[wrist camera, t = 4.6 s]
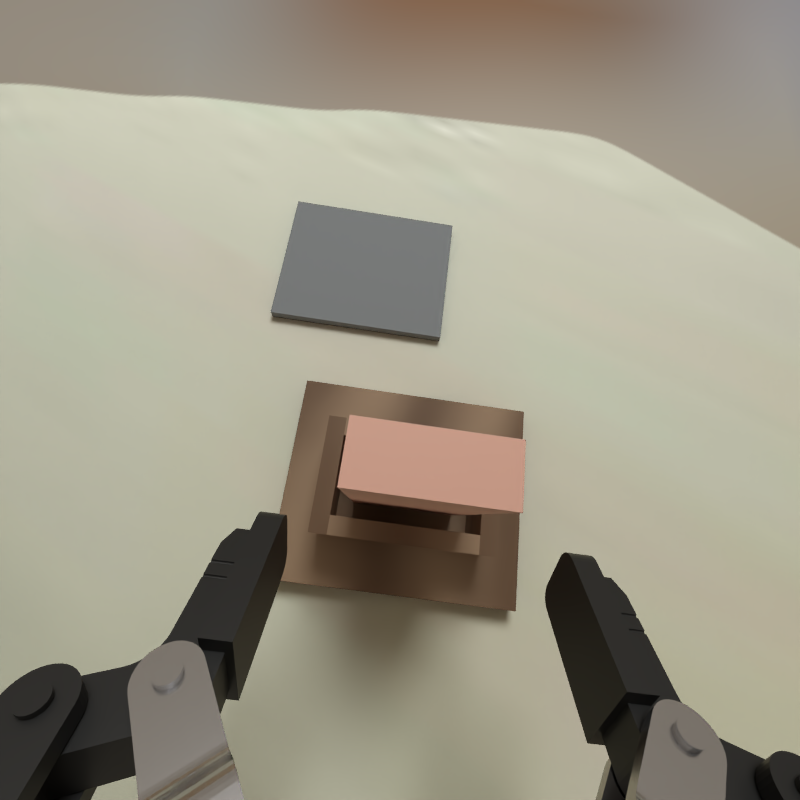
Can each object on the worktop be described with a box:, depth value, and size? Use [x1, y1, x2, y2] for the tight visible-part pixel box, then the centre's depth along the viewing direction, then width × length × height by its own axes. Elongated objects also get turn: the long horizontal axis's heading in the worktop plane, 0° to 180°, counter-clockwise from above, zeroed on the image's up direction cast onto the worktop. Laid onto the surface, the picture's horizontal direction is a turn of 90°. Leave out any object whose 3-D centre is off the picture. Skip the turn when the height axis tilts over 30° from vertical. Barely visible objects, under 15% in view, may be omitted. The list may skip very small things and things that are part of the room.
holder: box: [280, 381, 524, 611], centre depth 19 cm, size 12×10×5 cm
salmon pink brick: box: [337, 415, 526, 515], centre depth 16 cm, size 5×2×10 cm, turn 83°
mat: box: [271, 202, 452, 341], centre depth 25 cm, size 10×8×1 cm
